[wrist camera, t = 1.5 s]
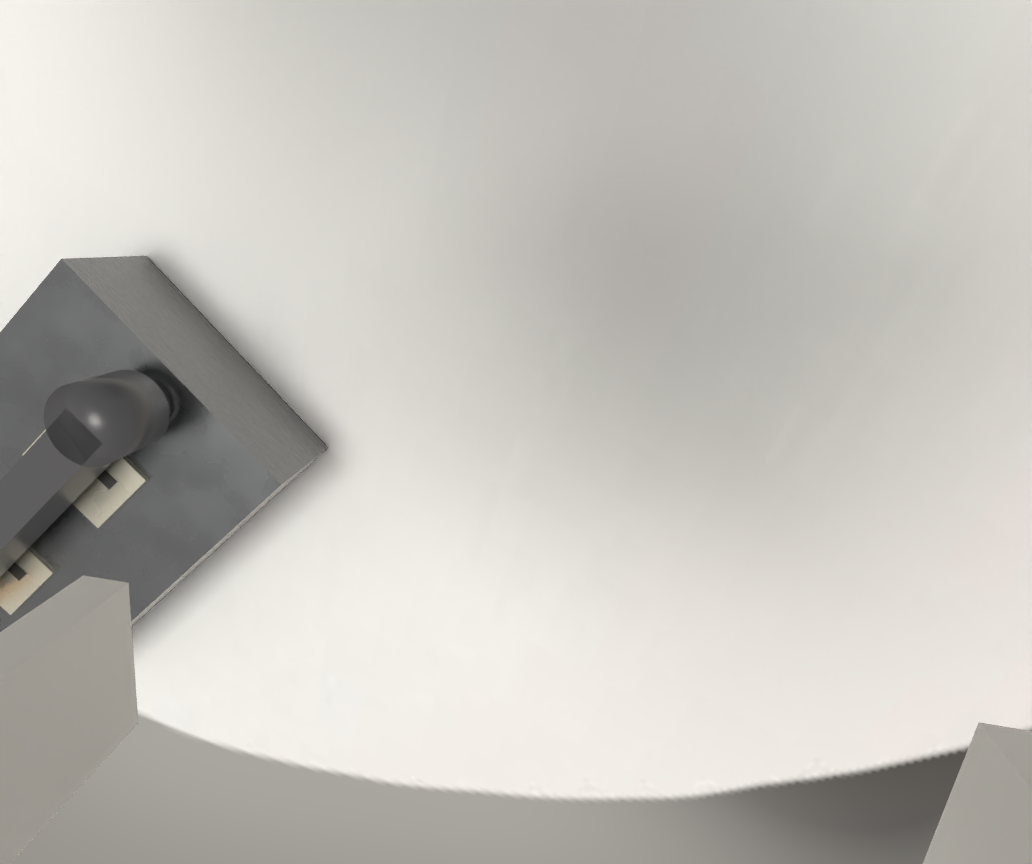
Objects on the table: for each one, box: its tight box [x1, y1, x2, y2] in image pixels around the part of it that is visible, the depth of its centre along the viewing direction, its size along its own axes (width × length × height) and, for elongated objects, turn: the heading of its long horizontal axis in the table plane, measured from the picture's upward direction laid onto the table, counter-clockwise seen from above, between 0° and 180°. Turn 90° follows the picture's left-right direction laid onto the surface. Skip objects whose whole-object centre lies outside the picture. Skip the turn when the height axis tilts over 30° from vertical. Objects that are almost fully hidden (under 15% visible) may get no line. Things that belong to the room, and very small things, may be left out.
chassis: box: [0, 256, 328, 632], centre depth 36 cm, size 14×21×7 cm, turn 131°
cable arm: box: [0, 370, 170, 577], centre depth 31 cm, size 4×20×3 cm, turn 131°
